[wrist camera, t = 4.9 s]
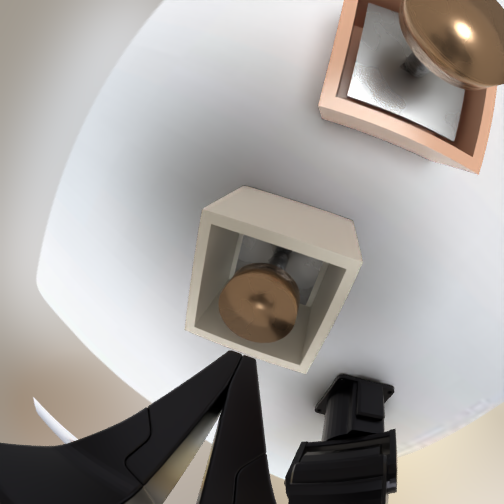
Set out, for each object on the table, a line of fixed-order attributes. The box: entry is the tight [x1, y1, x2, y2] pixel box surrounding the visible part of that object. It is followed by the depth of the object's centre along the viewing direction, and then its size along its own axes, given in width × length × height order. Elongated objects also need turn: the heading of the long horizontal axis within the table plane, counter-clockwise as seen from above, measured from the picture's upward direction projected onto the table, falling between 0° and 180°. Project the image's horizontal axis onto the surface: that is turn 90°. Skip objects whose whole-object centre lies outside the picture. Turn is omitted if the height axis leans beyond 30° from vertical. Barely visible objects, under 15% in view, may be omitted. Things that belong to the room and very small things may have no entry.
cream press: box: [185, 186, 363, 374], centre depth 18 cm, size 8×8×7 cm
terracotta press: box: [318, 0, 497, 175], centre depth 11 cm, size 8×8×7 cm
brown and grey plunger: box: [347, 0, 504, 142], centre depth 7 cm, size 6×6×7 cm
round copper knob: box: [218, 235, 323, 343], centre depth 17 cm, size 6×6×7 cm
